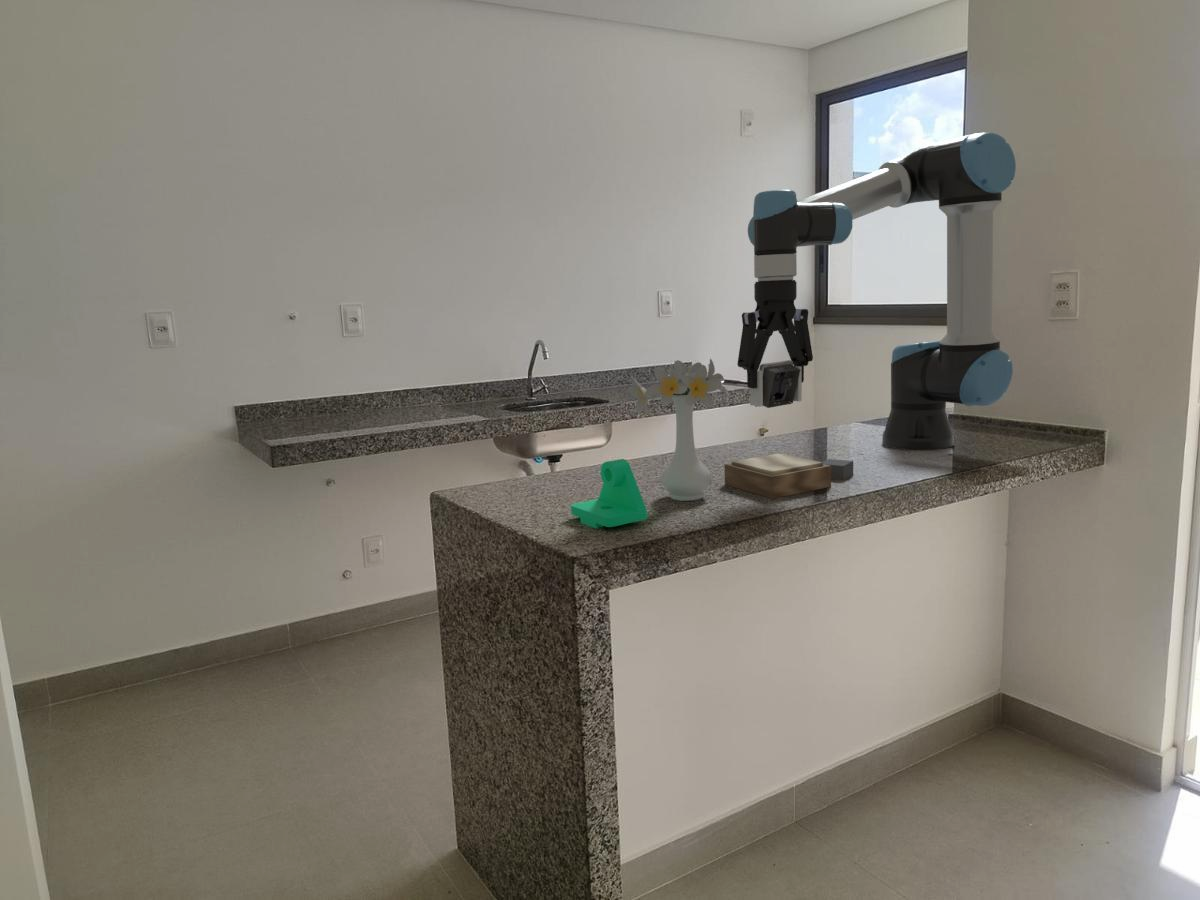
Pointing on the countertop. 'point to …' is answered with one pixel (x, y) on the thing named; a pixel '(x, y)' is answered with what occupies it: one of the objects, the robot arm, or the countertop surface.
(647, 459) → the countertop surface
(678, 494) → the flower vase
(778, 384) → the electrical switch
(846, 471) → the rubber block
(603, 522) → the camera mount
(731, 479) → the wooden box
